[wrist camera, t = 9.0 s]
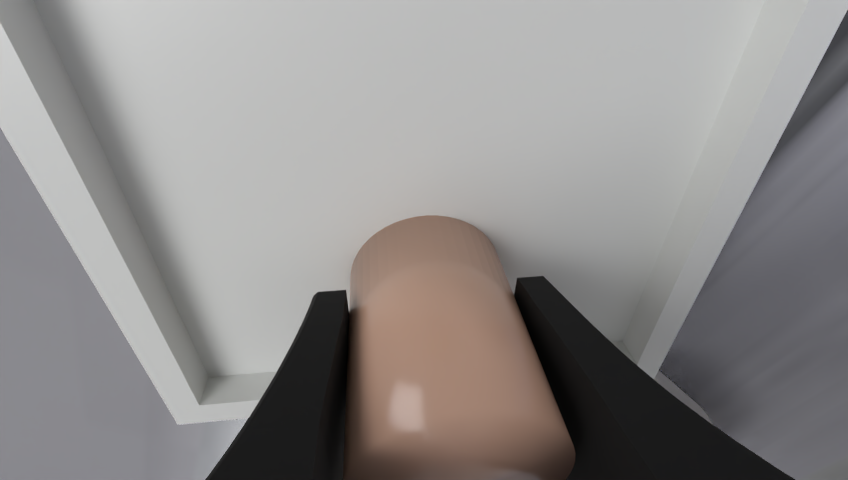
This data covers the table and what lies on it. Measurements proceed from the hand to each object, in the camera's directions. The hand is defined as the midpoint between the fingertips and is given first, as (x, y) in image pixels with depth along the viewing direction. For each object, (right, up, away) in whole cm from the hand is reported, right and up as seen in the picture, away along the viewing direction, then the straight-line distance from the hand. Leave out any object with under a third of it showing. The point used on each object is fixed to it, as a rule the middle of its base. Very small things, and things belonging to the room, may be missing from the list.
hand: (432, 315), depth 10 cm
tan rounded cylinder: (0, +1, +1) cm, 1 cm away
